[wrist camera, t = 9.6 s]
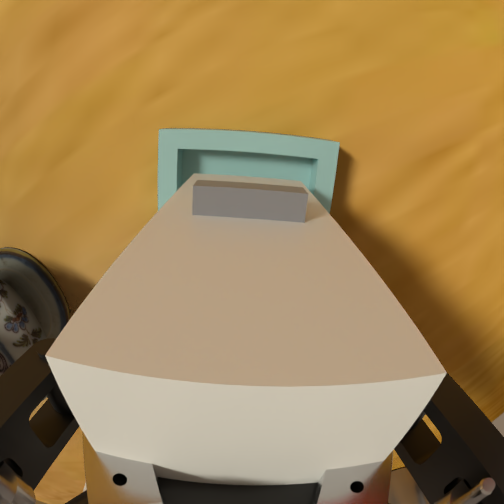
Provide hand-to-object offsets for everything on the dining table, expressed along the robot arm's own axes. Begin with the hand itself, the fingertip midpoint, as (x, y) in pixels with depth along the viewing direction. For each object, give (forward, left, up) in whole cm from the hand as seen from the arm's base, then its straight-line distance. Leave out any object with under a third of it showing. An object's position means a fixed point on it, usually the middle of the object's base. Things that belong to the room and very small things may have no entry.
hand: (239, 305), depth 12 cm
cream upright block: (0, 0, -4) cm, 4 cm away
